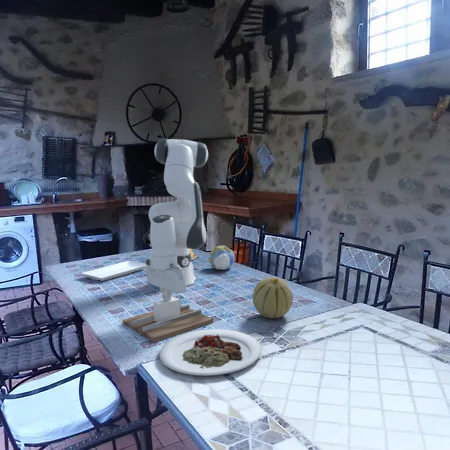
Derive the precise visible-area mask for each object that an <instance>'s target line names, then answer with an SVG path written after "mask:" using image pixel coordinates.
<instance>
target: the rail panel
mask: <svg viewBox="0 0 450 450" xmlns="http://www.w3.org/2000/svg"><path fill="white" fill-rule="evenodd" d="M180 314H181V315H179V316H176V317H173V318H170V319H166V320H163V321H160V322H156V321H155V320H154V310H153V311H150V312H146V313H142V314H139V315H136V316H135V315H134V316H132V317H129V318H124V319H122V320H121V321H122V324H123V325H124V326H125V327H127V328H129V329H131V330H132V331H134V332H135V333H137V334H138V335H140V336H142V337H144V338H145V339H147V340H149V341H151V342H152V343H158V342H161V341H163V340H166V339H169V338H173V337H174V336H175V337H176V336H179V335H182V334H185V333H188V332H190V331H192V330H196V329H199V328H201V327H204V326H207V325H210V324H214V318H212V317H211V316H208V315H207V314H202V309H201V308H198V309H196V310H193V309H191V307H190V304H185V305H181V304H180Z"/></svg>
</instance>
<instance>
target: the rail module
mask: <svg viewBox="0 0 450 450" xmlns="http://www.w3.org/2000/svg"><path fill="white" fill-rule="evenodd" d="M180 301H181V300H180V298H177V297H174V296H172V295H171V300H170V301H166V300H163V299H162V298H161V299H158V300H154V301H152V302H153V311H154V320H155V321H156V322H160V321H163V320H166V319H170V318H173V317H176V316H179V315H181V314H180V305H181V303H180Z"/></svg>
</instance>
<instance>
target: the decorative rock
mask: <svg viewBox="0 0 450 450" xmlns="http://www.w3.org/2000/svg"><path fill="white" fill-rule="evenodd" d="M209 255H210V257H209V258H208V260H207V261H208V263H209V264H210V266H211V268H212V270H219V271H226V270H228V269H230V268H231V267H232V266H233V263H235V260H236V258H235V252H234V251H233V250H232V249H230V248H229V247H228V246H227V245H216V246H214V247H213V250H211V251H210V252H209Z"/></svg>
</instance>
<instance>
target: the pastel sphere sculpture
mask: <svg viewBox="0 0 450 450" xmlns="http://www.w3.org/2000/svg"><path fill="white" fill-rule="evenodd" d="M192 250H193V249H190V253H191V261H193V260H195V259H196V258H197V257H198V255H197V254H195V253H194V252H193V251H192Z"/></svg>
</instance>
